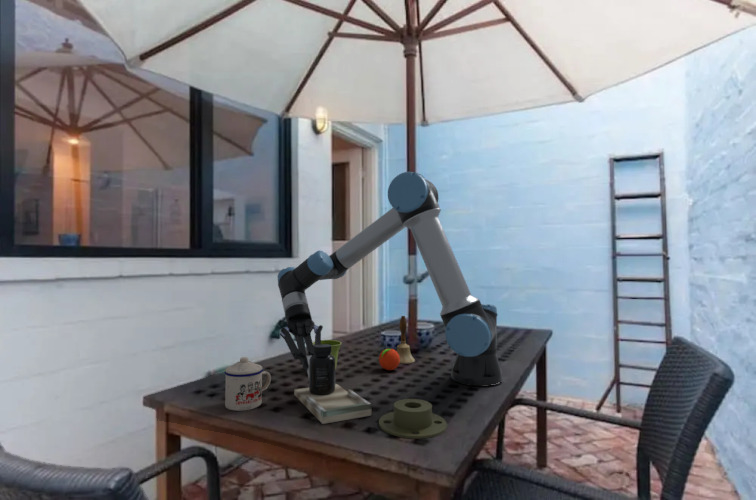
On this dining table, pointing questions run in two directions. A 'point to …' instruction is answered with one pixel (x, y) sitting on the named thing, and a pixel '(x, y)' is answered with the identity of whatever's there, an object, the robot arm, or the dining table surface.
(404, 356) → the hand bell
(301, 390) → the rail board
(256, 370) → the teacup with lid
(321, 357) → the supplement bottle
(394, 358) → the clementine
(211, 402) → the dining table surface
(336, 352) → the plant pot
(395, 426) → the flange
